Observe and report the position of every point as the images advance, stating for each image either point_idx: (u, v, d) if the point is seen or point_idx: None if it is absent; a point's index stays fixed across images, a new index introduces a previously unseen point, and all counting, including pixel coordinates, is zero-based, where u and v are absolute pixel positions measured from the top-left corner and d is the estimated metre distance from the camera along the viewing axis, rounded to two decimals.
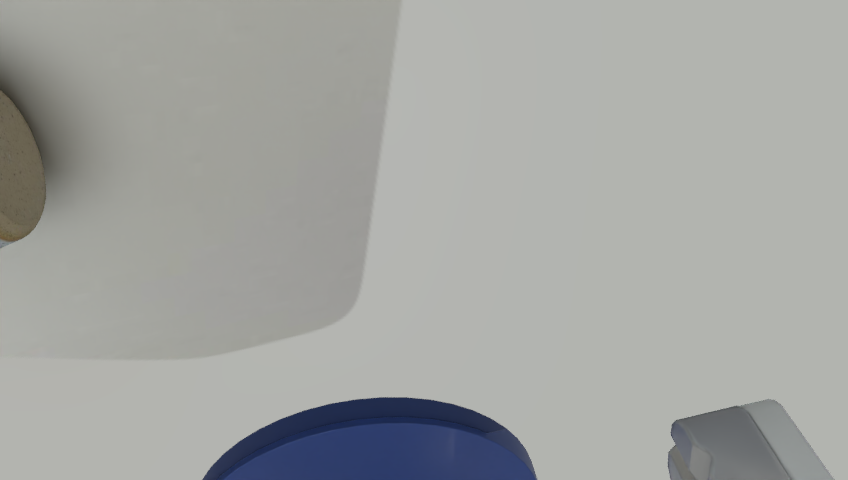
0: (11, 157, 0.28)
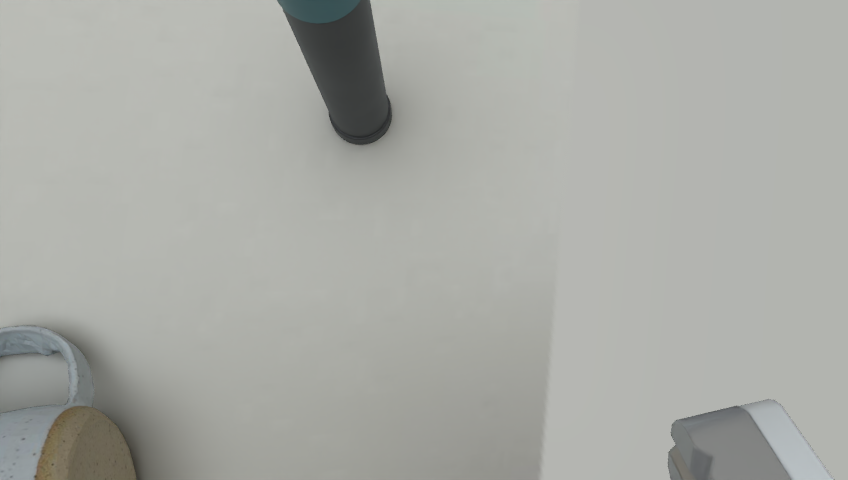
0: None
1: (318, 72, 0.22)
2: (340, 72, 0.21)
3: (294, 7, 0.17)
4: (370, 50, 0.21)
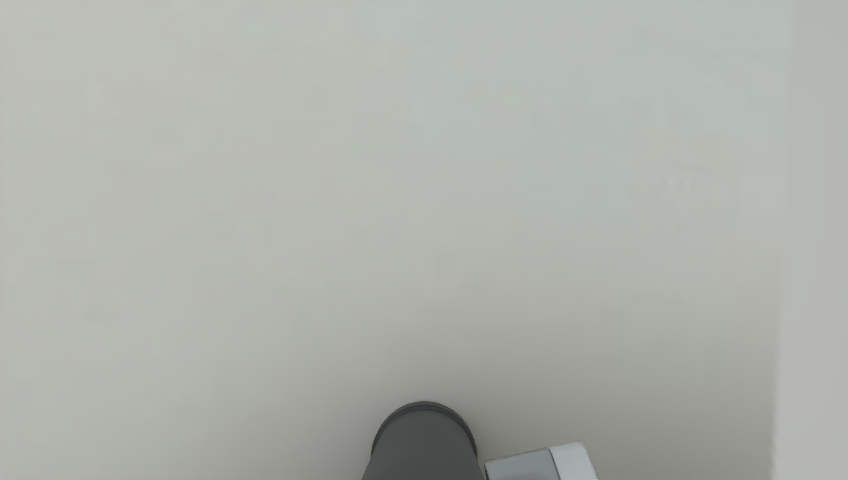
0: None
1: None
2: None
3: None
4: None
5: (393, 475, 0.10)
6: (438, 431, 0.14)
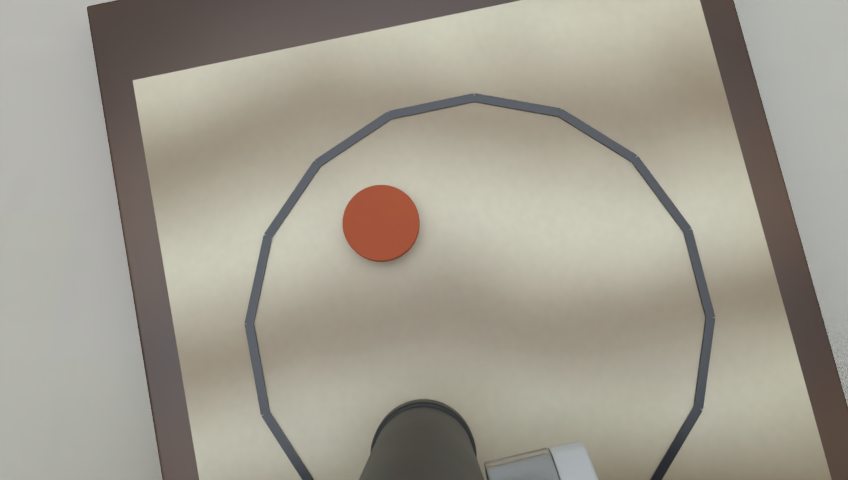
0: None
1: None
2: None
3: None
4: None
5: (392, 470, 0.10)
6: (437, 427, 0.14)
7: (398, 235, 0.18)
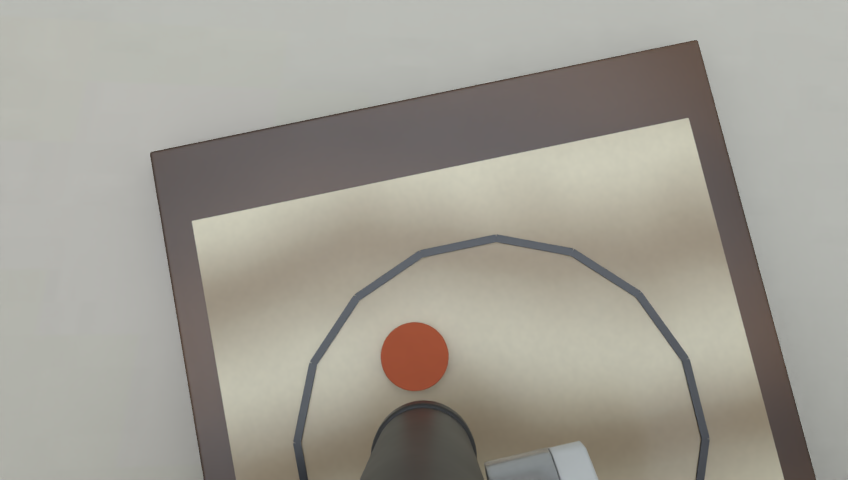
0: None
1: None
2: None
3: None
4: None
5: (392, 471, 0.10)
6: (437, 429, 0.14)
7: (430, 368, 0.20)
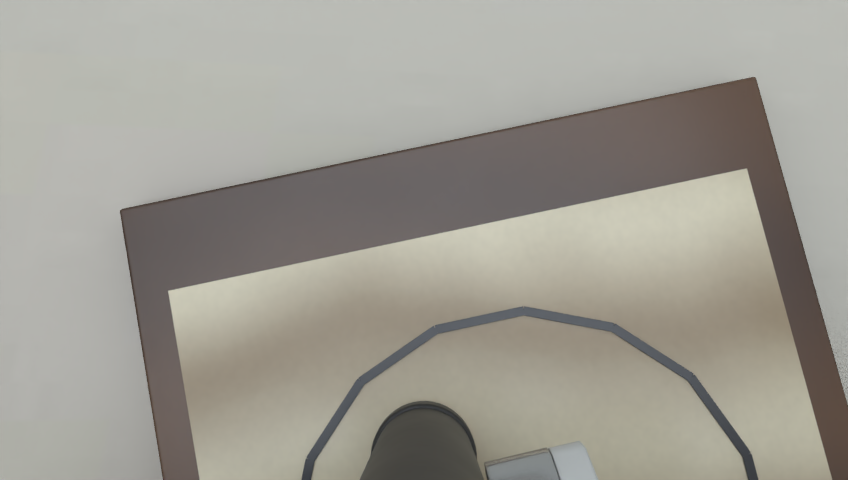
0: None
1: None
2: None
3: None
4: None
5: (392, 470, 0.10)
6: (437, 429, 0.14)
7: None
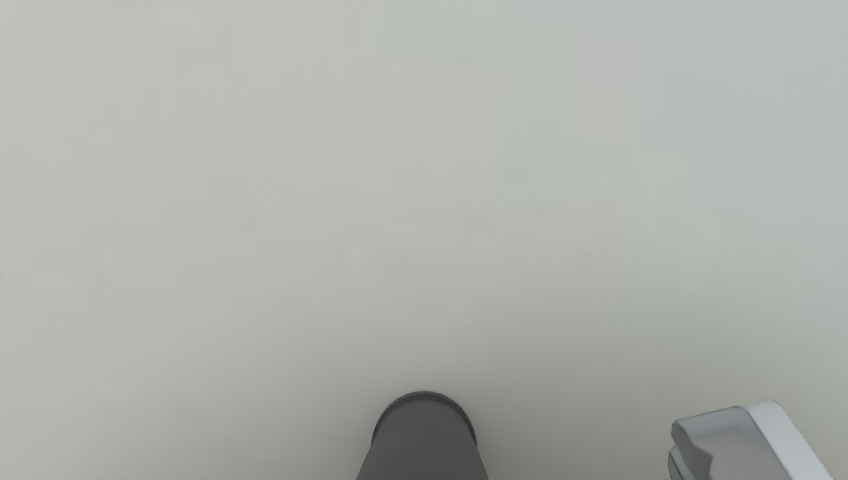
0: None
1: None
2: None
3: None
4: None
5: (394, 457, 0.10)
6: (438, 418, 0.14)
7: None
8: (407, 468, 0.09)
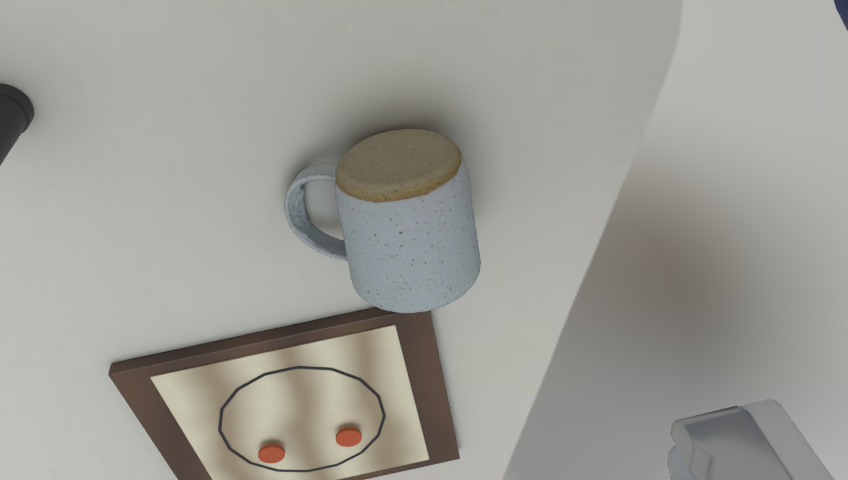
0: (400, 152, 0.37)
1: None
2: None
3: None
4: None
5: None
6: None
7: (275, 451, 0.53)
8: None
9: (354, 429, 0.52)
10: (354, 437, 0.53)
